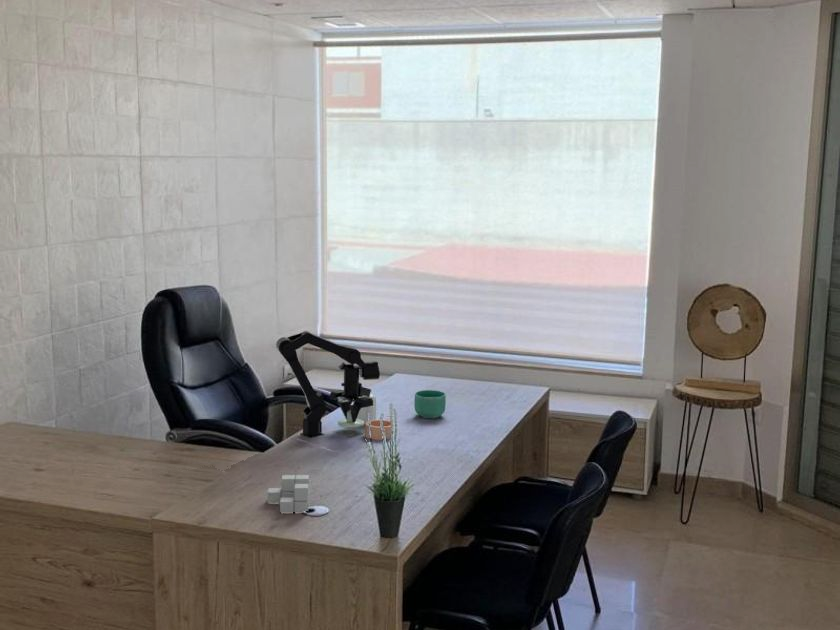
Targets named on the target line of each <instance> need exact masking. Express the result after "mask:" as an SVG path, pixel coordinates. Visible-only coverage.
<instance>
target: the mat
mask: <svg viewBox="0 0 840 630" xmlns="http://www.w3.org/2000/svg"><path fill="white" fill-rule="evenodd" d="M331 432H332V433H334V434H338V435H341V436H345V437H347V438H352V437H356V436H360V435H365V429H364V430H363V429H360V428H358V427H354V428H348V427H343V428H341V429H336V430H332V431H331Z"/></svg>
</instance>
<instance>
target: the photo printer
mask: <svg viewBox="0 0 840 630" xmlns="http://www.w3.org/2000/svg"><path fill="white" fill-rule="evenodd" d="M363 397H367V396H363ZM359 398H361V397H359ZM369 398H372V399H373V406H369V407H364V408H361V409H360V411H359V414H358V416H357V419H360V420H363V421H364V425H365V423H366V422H367V421H368V412H369V414H370V419H371V420H377V398H376V397H375V395H373V394H372V393H370V396H369Z"/></svg>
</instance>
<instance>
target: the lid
mask: <svg viewBox="0 0 840 630" xmlns="http://www.w3.org/2000/svg"><path fill="white" fill-rule="evenodd" d="M337 425H338V426H339V427H343V428H361V427H363V426H365V424H364V421H363V420H360V419H356V422H353V421H352V417H351V412H350V411H347V420H346V418H343V419H339V420H338V421H337Z"/></svg>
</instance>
